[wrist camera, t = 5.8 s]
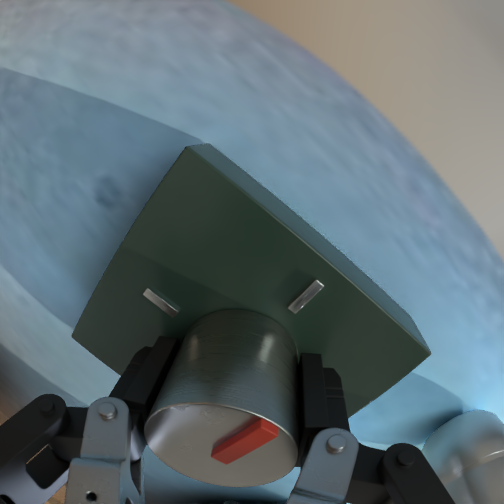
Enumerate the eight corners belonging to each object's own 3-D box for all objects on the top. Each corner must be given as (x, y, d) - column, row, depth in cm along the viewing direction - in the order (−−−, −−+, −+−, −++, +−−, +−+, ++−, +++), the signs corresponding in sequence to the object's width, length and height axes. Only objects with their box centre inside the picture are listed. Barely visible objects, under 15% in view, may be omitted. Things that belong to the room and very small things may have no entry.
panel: (99, 305, 15) (68, 338, 13) (208, 142, 12) (184, 145, 9) (274, 424, 17) (271, 466, 14) (411, 316, 14) (433, 356, 11)
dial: (248, 411, 13) (234, 504, 8) (163, 356, 12) (118, 447, 8) (322, 355, 11) (333, 460, 7) (228, 285, 11) (191, 384, 6)
